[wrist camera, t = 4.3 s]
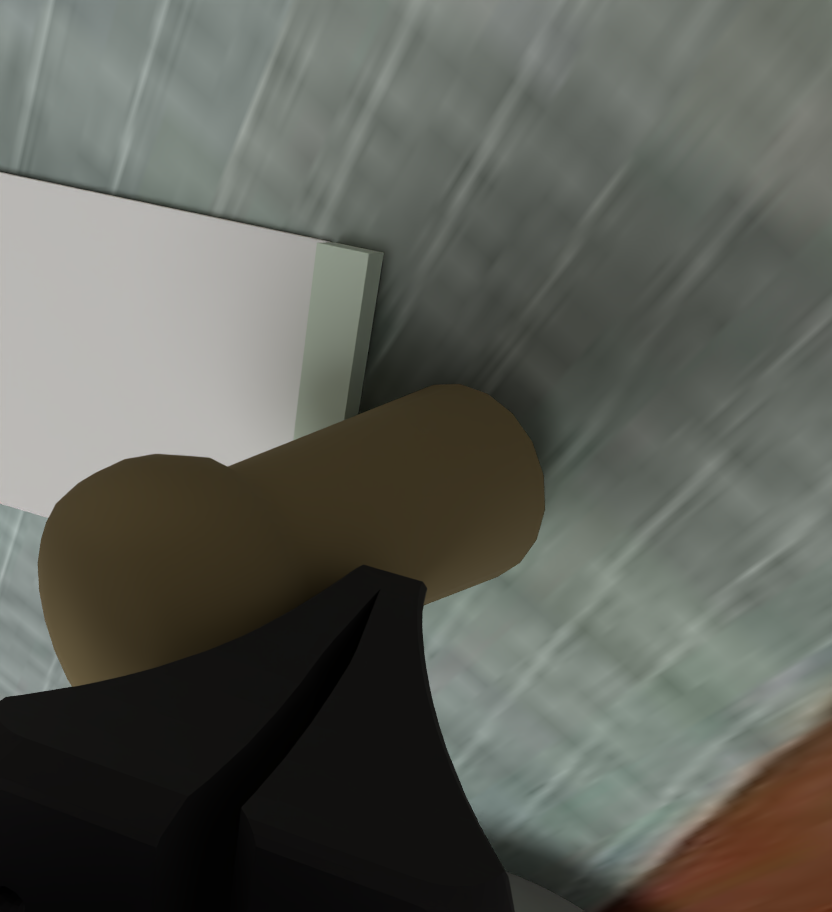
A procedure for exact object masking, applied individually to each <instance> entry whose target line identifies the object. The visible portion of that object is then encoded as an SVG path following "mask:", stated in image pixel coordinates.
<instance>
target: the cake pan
mask: <svg viewBox="0 0 832 912" xmlns="http://www.w3.org/2000/svg"><path fill="white" fill-rule="evenodd" d="M506 873H507V874H508V876H509V882H510V887H511V893H512V898H513V904H514V910H515V912H585V911H584V910H582V909H581V908H579V907H577V906H576V905H574V904H573V903H571V902H569V901H568V900H566V899H564V898H562V897H561V896H559V895H557V894H555V893H553V892H551V891H549V890H547V889H545V888H543V887H541V886H539V885H537V884H535V883H533V882H530V881H528V880H526V879H523V878H521V877H519V876H516V875H514V874H511V873H508V872H506Z"/></svg>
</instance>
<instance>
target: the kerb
mask: <svg viewBox="0 0 832 912" xmlns="http://www.w3.org/2000/svg"><path fill="white" fill-rule="evenodd" d="M383 255H384V253H383V252H378V251H373V250H368V249H364V248H359V247H354V246H350V245H345V244H340V243H317V246H316V255H315V263H314V271H313V280H312V288H311V296H310V305H309V313H308V321H307V330H306V338H305V346H304V355H303V363H302V371H301V380H300V388H299V396H298V405H297V413H296V421H295V429H294V438H293V440H296V439H298V438H301V437H303V436H306V435H308V434H311V433H313V432H316V431H318V430H321V429H323V428H326V427H328V426H331V425H333V424H336V423H338V422H341V421H343V420H346V419H348V418H351V417H353V416H356V415H358V413H359V406H360V400H361V394H362V387H363V381H364V375H365V369H366V362H367V356H368V350H369V343H370V337H371V331H372V324H373V318H374V312H375V305H376V299H377V293H378V287H379V280H380V274H381V268H382V261H383Z"/></svg>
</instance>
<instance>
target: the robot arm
mask: <svg viewBox="0 0 832 912" xmlns="http://www.w3.org/2000/svg"><path fill="white" fill-rule="evenodd" d="M426 593H427V587H426V585H425V584H424V582H423V581H419V580H416V579H412V578H409V577H405V576H402V575H398V574H395V573H391V572H388V571H384V570H381V569H377V568H374V567H370V566H367V565H361V566H359V567H357V568H356V569H354V570H353V571H351V572H350V573H348V574H347V575H346V576H344V577H343V578H341V579H340V580H338V581H337V582H335V583H334V584H332V585H331V586H329V587H328V588H326V589H325V590H323V591H322V592H320V593H319V594H317V595H315V596H314V597H312V598H311V599H309V600H307V601H306V602H304V603H302V604H301V605H299V606H298V607H296V608H294V609H293V610H291V611H289V612H287V613H286V614H284V615H282V616H280V617H278V618H276V619H274V620H273V621H271V622H269V623H267V624H265V625H263V626H261V627H260V628H258V629H256V630H254V631H252V632H250V633H247V634H245V635H243V636H241V637H239V638H237V639H234V640H232V641H229V642H227V643H224V644H222V645H220V646H217V647H215V648H212V649H210V650H207V651H204V652H201V653H198V654H195V655H192V656H189V657H186V658H183V659H180V660H177V661H174V662H171V663H168V664H165V665H162V666H159V667H155V668H152V669H148V670H145V671H141V672H137V673H133V674H129V675H126V676H121V677H117V678H112V679H108V680H104V681H99V682H95V683H90V684H85V685H80V686H74V687H68V688H62V689H56V690H50V691H44V692H37V693H31V694H25V695H18V696H10V697H5V698H4V699H2V700H1V701H0V912H515V910H514V904H513V898H512V893H511V887H510V882H509V876H508V874H507V873H506V871H505V869H504V868H503V866H502V864H501V863H500V861H499V859H498V857H497V856H496V854H495V852H494V851H493V849H492V847H491V845H490V843H489V841H488V839H487V838H486V836H485V834H484V832H483V830H482V828H481V826H480V825H479V822H478V820H477V818H476V816H475V814H474V812H473V810H472V808H471V806H470V804H469V802H468V800H467V798H466V795H465V793H464V791H463V788H462V786H461V783H460V781H459V778H458V776H457V773H456V771H455V768H454V766H453V763H452V761H451V758H450V756H449V754H448V751H447V748H446V745H445V742H444V739H443V736H442V733H441V729H440V726H439V723H438V719H437V716H436V712H435V708H434V704H433V700H432V696H431V691H430V686H429V681H428V675H427V670H426V663H425V655H424V644H423V633H422V611H423V606H424V602H425V597H426Z"/></svg>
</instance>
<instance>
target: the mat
mask: <svg viewBox="0 0 832 912" xmlns="http://www.w3.org/2000/svg"><path fill="white" fill-rule="evenodd" d="M317 243H331V241H326V240H321V239H316V238H312V237H307V236H302V235H297V234H293V233H288V232H283V231H278V230H274V229H269V228H264V227H259V226H255V225H250V224H245V223H241V222H236V221H231V220H226V219H222V218H217V217H212V216H207V215H203V214H198V213H193V212H188V211H184V210H179V209H174V208H169V207H165V206H160V205H155V204H150V203H146V202H141V201H136V200H131V199H127V198H122V197H117V196H113V195H108V194H103V193H98V192H94V191H89V190H84V189H79V188H75V187H70V186H65V185H60V184H56V183H51V182H46V181H41V180H37V179H32V178H27V177H22V176H18V175H13V174H8V173H4V172H0V504H3V505H7V506H10V507H13V508H17V509H20V510H23V511H27V512H30V513H33V514H37V515H40V516H43V517H47V518H49V516H50V514H51V512H52V510H53V508H54V506H55V504H56V503H57V502H58V501H59V500H60V499H61V498H62V497H63V496H65V495H66V494H67V493H68V492H69V491H70V490H71V489H72V488H73V487H74V486H75V485H76V484H78V483H79V482H81V481H82V480H84V479H86V478H87V477H89V476H91V475H92V474H94V473H96V472H98V471H100V470H102V469H104V468H107V467H109V466H111V465H113V464H115V463H117V462H119V461H122V460H124V459H128V458H134V457H140V456H145V455H151V454H169V455H185V456H197V457H209V458H212V459H214V460H216V461H217V462H219V463H221V464H223V465H225V466H227V467H228V466H230V465H233V464H235V463H238V462H240V461H243V460H245V459H248V458H250V457H253V456H255V455H258V454H260V453H263V452H265V451H268V450H270V449H273V448H275V447H278V446H280V445H283V444H285V443H288V442H290V441H293V438H294V429H295V421H296V413H297V405H298V396H299V388H300V380H301V371H302V363H303V355H304V346H305V338H306V330H307V321H308V313H309V305H310V296H311V288H312V280H313V271H314V263H315V255H316V246H317Z"/></svg>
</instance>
